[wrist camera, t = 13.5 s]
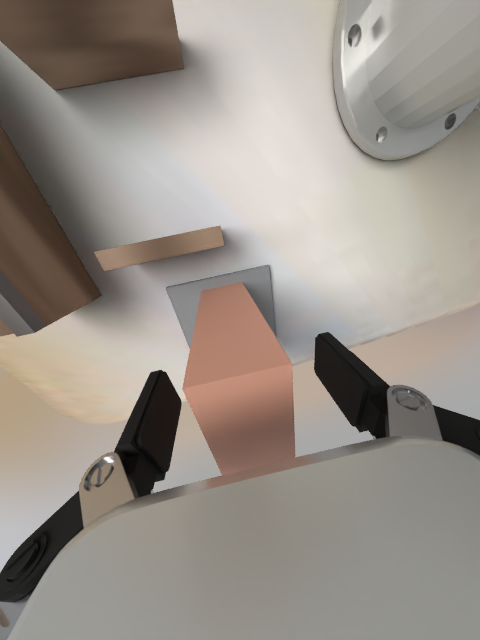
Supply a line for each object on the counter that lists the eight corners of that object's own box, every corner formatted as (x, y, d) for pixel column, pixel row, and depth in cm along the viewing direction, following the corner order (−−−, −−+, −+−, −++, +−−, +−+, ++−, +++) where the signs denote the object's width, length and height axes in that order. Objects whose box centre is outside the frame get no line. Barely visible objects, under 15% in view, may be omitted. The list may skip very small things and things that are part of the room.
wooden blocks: (162, -32, 9) (67, -533, 3) (226, 268, 17) (235, 287, 11) (-158, 12, 9) (-1036, -514, 3) (57, 305, 16) (-37, 348, 10)
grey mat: (267, 264, 17) (269, 265, 17) (275, 339, 21) (276, 341, 21) (167, 287, 17) (165, 288, 16) (195, 358, 21) (194, 361, 20)
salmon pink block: (242, 282, 17) (291, 363, 6) (251, 340, 20) (295, 459, 9) (201, 290, 17) (182, 388, 6) (217, 348, 20) (223, 478, 9)
